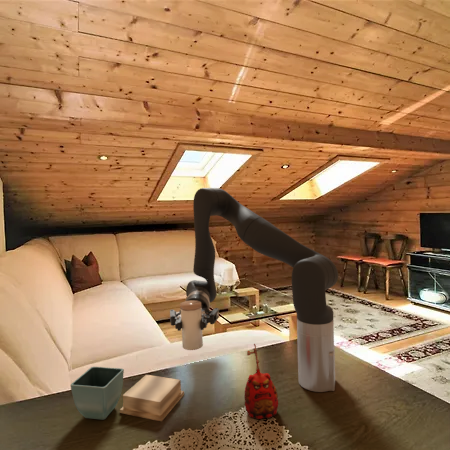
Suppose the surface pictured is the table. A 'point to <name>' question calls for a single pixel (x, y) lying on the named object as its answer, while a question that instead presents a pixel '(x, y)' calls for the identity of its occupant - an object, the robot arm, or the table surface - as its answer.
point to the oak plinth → (152, 397)
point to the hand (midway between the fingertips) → (190, 326)
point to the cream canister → (191, 325)
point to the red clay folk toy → (260, 394)
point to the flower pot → (97, 391)
